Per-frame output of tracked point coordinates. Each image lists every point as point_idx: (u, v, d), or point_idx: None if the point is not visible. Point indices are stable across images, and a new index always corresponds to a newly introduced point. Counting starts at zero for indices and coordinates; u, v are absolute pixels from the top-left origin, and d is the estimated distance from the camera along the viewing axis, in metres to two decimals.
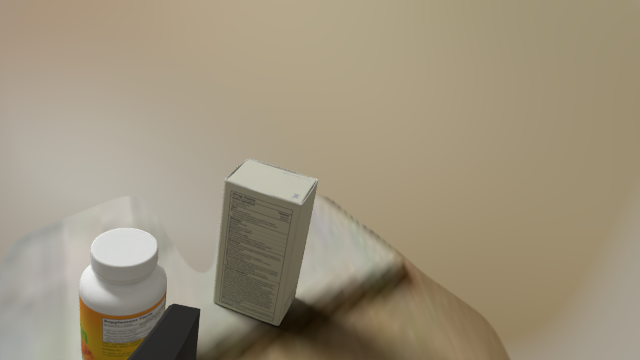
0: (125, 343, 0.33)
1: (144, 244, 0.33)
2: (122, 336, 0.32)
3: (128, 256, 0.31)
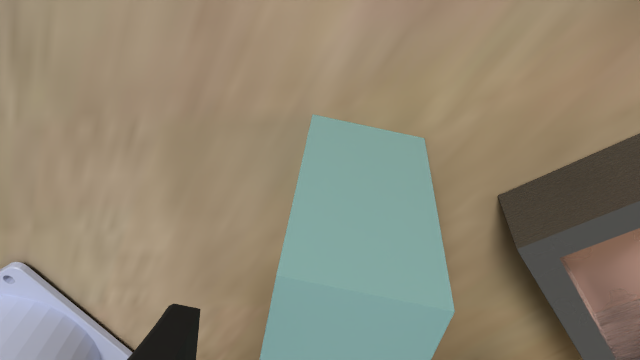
0: None
1: None
2: None
3: None
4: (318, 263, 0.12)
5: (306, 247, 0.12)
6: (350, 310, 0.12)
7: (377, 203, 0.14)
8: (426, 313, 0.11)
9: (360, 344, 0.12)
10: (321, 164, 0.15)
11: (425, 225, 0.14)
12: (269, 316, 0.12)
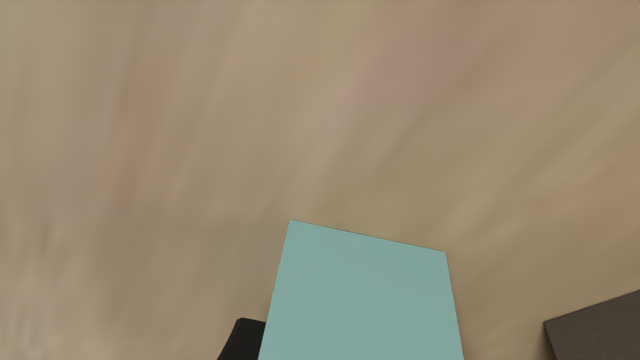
0: None
1: None
2: None
3: None
4: None
5: None
6: None
7: None
8: None
9: None
10: (296, 322, 0.10)
11: None
12: None
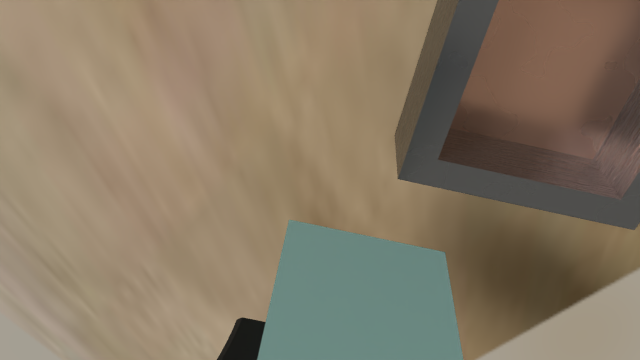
0: None
1: None
2: None
3: None
4: None
5: None
6: None
7: None
8: None
9: None
10: (296, 322, 0.10)
11: None
12: None
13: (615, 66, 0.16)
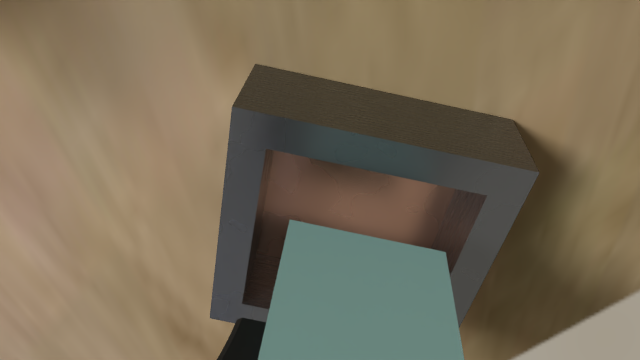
0: None
1: None
2: None
3: None
4: None
5: None
6: None
7: None
8: None
9: None
10: (296, 322, 0.10)
11: None
12: None
13: (417, 210, 0.17)
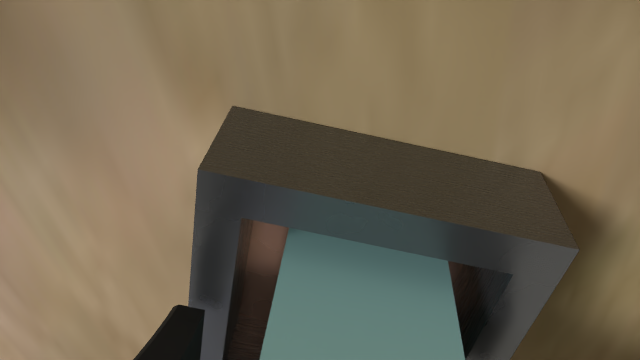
0: None
1: None
2: None
3: None
4: None
5: None
6: None
7: (381, 355, 0.10)
8: None
9: None
10: (304, 287, 0.11)
11: None
12: None
13: None
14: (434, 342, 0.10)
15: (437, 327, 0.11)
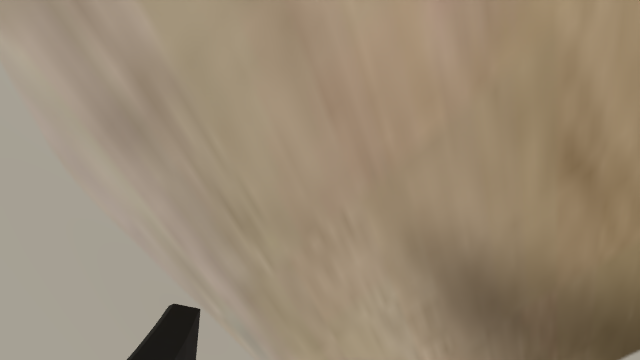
0: None
1: None
2: None
3: None
4: None
5: None
6: None
7: None
8: None
9: None
10: None
11: None
12: None
13: None
14: None
15: None
